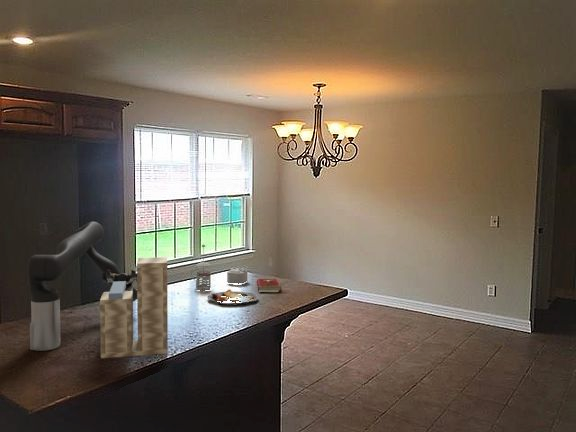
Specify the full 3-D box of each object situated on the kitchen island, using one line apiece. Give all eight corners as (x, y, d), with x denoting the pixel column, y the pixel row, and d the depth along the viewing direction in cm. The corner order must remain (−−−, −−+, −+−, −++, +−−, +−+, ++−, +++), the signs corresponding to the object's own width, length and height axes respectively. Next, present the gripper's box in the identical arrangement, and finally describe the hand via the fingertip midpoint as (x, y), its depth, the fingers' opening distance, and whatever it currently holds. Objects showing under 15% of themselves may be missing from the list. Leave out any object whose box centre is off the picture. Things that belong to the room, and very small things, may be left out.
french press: (210, 292, 270) (211, 245, 268) (189, 291, 270) (189, 245, 268) (213, 288, 280) (214, 243, 278) (193, 287, 280) (193, 243, 278)
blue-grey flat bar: (108, 299, 169) (108, 293, 169) (113, 286, 189) (113, 281, 188) (122, 298, 170) (122, 293, 170) (125, 286, 190) (125, 281, 190)
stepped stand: (100, 358, 170) (99, 264, 168) (104, 346, 181) (103, 258, 179) (167, 353, 175) (167, 262, 173) (167, 342, 187) (166, 257, 185)
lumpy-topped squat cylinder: (224, 284, 290) (224, 269, 290) (235, 280, 302) (235, 266, 301) (240, 286, 286) (240, 271, 285) (251, 282, 298) (251, 267, 297)
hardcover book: (258, 293, 270) (258, 286, 269) (256, 285, 291) (256, 278, 290) (280, 293, 271) (280, 285, 271) (277, 285, 292) (277, 278, 292)
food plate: (198, 299, 252) (198, 292, 252) (233, 293, 269) (233, 286, 269) (231, 310, 235) (231, 303, 235) (266, 302, 252) (266, 295, 252)
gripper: (105, 277, 206) (101, 263, 192) (141, 275, 210) (140, 262, 195) (104, 294, 203) (100, 282, 189) (141, 293, 206) (139, 280, 192)
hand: (120, 272), depth 192 cm, fingers open, 8 cm apart
